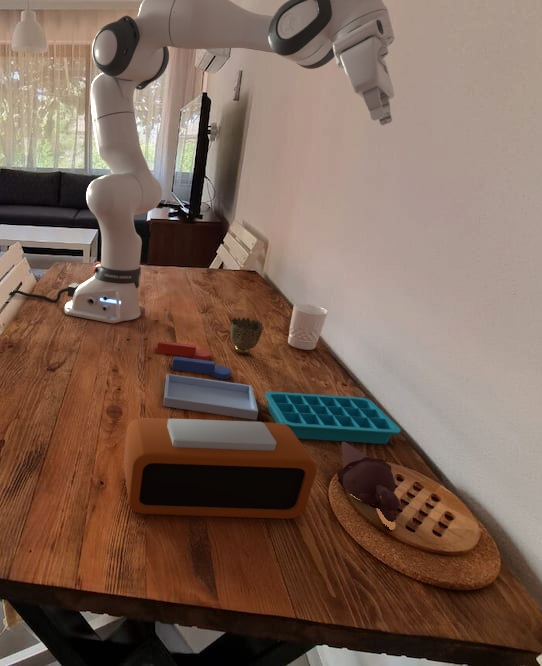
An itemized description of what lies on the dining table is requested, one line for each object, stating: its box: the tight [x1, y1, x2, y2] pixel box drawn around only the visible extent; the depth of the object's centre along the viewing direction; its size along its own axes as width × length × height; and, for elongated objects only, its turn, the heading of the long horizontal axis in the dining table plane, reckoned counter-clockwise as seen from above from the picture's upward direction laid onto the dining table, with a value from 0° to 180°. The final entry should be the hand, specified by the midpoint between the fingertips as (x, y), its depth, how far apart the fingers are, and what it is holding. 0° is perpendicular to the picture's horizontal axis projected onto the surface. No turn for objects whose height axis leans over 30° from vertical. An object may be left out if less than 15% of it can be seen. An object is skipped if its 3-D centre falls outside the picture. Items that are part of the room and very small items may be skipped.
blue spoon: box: [171, 355, 232, 380], centre depth 101 cm, size 13×4×3 cm, turn 78°
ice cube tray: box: [264, 391, 402, 445], centre depth 84 cm, size 12×20×3 cm, turn 87°
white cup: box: [287, 303, 329, 351], centre depth 117 cm, size 8×8×10 cm
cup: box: [230, 317, 265, 355], centre depth 111 cm, size 8×7×8 cm
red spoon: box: [156, 340, 212, 361], centre depth 109 cm, size 13×4×3 cm, turn 78°
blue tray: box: [162, 373, 259, 421], centre depth 90 cm, size 17×10×2 cm, turn 78°
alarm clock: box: [123, 417, 318, 520], centre depth 63 cm, size 24×8×11 cm, turn 90°
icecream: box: [336, 441, 401, 532], centre depth 66 cm, size 7×7×15 cm
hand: (382, 121), depth 81 cm, fingers open, 8 cm apart
